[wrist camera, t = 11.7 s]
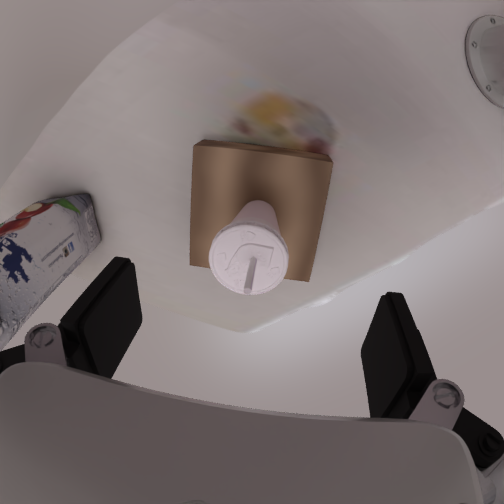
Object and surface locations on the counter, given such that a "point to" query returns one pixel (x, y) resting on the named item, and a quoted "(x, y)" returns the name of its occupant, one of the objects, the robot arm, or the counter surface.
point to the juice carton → (41, 255)
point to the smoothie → (250, 251)
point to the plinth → (259, 196)
